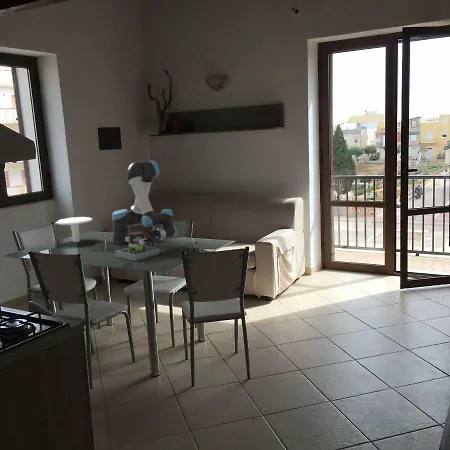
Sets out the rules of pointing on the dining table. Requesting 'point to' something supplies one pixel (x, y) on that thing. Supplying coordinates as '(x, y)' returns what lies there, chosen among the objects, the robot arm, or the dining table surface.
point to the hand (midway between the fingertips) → (132, 240)
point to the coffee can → (136, 242)
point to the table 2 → (74, 225)
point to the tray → (135, 257)
